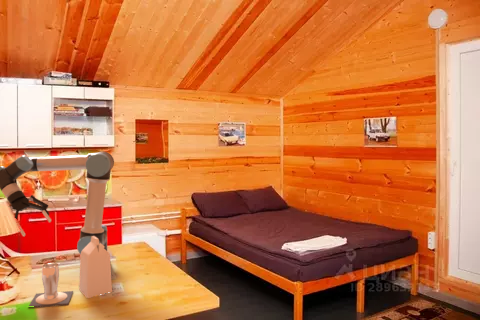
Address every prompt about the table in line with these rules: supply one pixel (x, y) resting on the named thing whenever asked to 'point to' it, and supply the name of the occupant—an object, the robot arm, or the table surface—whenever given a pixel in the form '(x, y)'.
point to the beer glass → (50, 280)
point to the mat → (60, 301)
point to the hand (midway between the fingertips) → (37, 228)
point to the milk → (95, 269)
